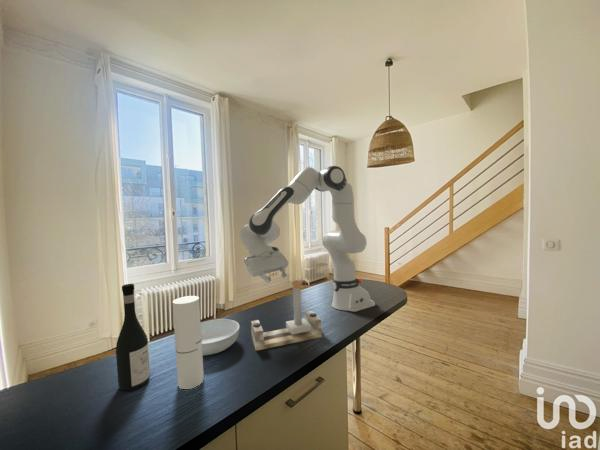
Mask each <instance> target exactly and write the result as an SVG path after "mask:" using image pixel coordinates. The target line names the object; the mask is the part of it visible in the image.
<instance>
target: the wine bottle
mask: <svg viewBox="0 0 600 450" xmlns="http://www.w3.org/2000/svg"><path fill="white" fill-rule="evenodd" d="M121 291H122V298H123V299H122V300H123V309H124V310H123V311H124V317H123V318H124V319H123V322H122V327H121V329H120V332H119V335H118V337H117V341H116V347H115V355H116V356H115V358H116V372H117V383H118V387H119V389H120V390H121V391H127V390H128V391H133V390H132V389H134V390H136V389H138V387H139V388H141V387H142V386H144V385H145V384H146V383H147V382H148V381H149V380H150V377H151V367H150V352H149V351H150V350H149V341H148V337H147V335H146V332H145V330H144V329H143V327H142V325H141V324H140V322H139V320H138V318H137V314H136V304H135V303H136V302H135V301H136V300H135V284H134V283H128V284H127V283H126V284H123V285H122V286H121ZM140 386H141V387H140ZM135 388H136V389H135Z"/></svg>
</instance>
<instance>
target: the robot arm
mask: <svg viewBox="0 0 600 450" xmlns="http://www.w3.org/2000/svg"><path fill="white" fill-rule="evenodd" d="M347 181H348V180H347V178H346V174H345V172H344V170H343V169H342V167H340V166H336V165H330V166H328V167H324V168H323V169H321V170H319V171H317V170H316V169H315V168H313V167H310V166H306V167H305V168H303V169H302V170H301V171H299V172H298V173H297V174H296V175H295V176H294V178H293V179H292V180H291V181H290V182H289V183H288V184H287V185H286V186H285V187H284V186H283V187H282V188H281V189H279V190H278V192H277V193H275V195H273V197H272V198H271V199H270V200H269V201H268V202H267V203H266V204H264V206H262V208H260V209H259V210H257V211H256V212H254V213H253V214H252V215H251V216H250V218H249V221H248V223H247V224H245V225H244V226H243V227H241V229H240V231H239V238H240V242H242V245H243V246H244V247H245V249H246V250H247V251H248V254H249V255H250V256H245V258H244V259H243V261H244V264H245V266H246V268H247V270H248V272H249V275H250V276H251V277H253V278H255V277H260V278H262V279H263V280H264V281H265V282H266V283H270V282H271V281H272V278H271V277H270V276H267V274H270V273H275V272H278V271H279V272H281V277H282V279H283V278H287V276H288V274H287V273H286V268H288V266H289V261H288V260H287V258H286V256H285V255H284V254H283V253H282V252H280V248H279V247H277V246H271V245H269V244H271V243H272V242H274V241H276V240H277V239H278V238H279V236H280V234H281V232H280V231H281V230H280V229H281V228H280V227H279V225H278V223H276V221H275V219H274V218H275V216H276V215H277V214H278V213H279V212H280V211H281V210H282V209H283V207H285V205H287V204H293V205H301V204H303V203H305V201H306V200H307V199H308V198H309V197H310V195H311V194H312V193H313V191H314V190H316V191H318V192H330V194H331V197H332V198H331V205H332V206H331V213H332V216H331V217H332V221H333V222H334V223H336V225H337V226H338V228H339V230H330V231H327V232H325V233H324V235H323V236H322V239H321V240H322V246H323V247H324V248H325V250H326V251H327V252H328V254H329V256H330V259H331V261H332V262H331V263H332V267H333V268H332V269H333V279H332V286H333V297H332V303H331V307H332V308H334V309H336V310H339V311H347V312H355V313H356V312H358V311H362V310H365V309H369V308H372V307H375V306H376V303H375V301H374V300H373V299H371V295H370V293H369V291H367V290H366V289H365V288H363V287H362V286H360V284H363V282H364V281H363V280H362V279H360V278H356V264H355V262H354V260H352V259H351V258H350V256H349V255H348V254H358V253H359V254H360V253H363V251H365V249H366V247H367V238H366V235H364V234H363V233H362V232H361V231H360V229H359V227H358V225H357V222H356V219H355V198H354V192H353V188H352V185H351V183H348V182H347Z"/></svg>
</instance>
